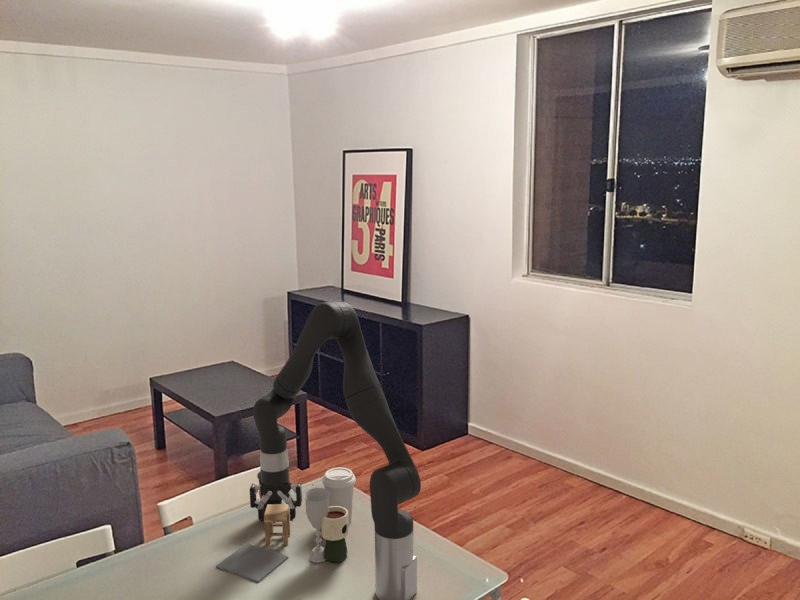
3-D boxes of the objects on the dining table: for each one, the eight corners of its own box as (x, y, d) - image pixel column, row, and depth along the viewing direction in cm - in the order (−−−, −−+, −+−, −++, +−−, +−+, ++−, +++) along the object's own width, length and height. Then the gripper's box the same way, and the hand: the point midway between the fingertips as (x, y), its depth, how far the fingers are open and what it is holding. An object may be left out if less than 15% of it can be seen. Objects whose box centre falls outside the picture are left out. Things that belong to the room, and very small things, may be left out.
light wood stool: (290, 533, 194) (289, 504, 192) (287, 545, 188) (286, 515, 186) (268, 533, 193) (267, 504, 191) (265, 545, 187) (263, 515, 186)
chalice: (326, 566, 178) (324, 502, 174) (301, 563, 179) (299, 499, 176) (335, 550, 185) (333, 489, 181) (311, 547, 186) (309, 486, 183)
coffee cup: (318, 527, 197) (316, 478, 193) (331, 510, 205) (329, 464, 202) (349, 532, 194) (348, 483, 191) (361, 515, 203) (360, 468, 200)
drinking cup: (256, 513, 204) (253, 450, 200) (281, 508, 207) (279, 446, 203) (263, 525, 197) (259, 461, 193) (289, 519, 201) (286, 456, 196)
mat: (288, 558, 182) (288, 556, 182) (258, 582, 171) (258, 580, 171) (246, 544, 188) (246, 542, 188) (216, 567, 178) (215, 565, 178)
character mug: (346, 569, 176) (345, 523, 174) (318, 569, 177) (317, 523, 174) (351, 546, 187) (350, 502, 184) (325, 545, 187) (324, 501, 185)
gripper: (302, 458, 190) (304, 512, 193) (250, 459, 189) (253, 513, 193) (299, 470, 182) (301, 526, 186) (245, 471, 182) (248, 527, 185)
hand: (277, 519), depth 189 cm, fingers open, 7 cm apart
